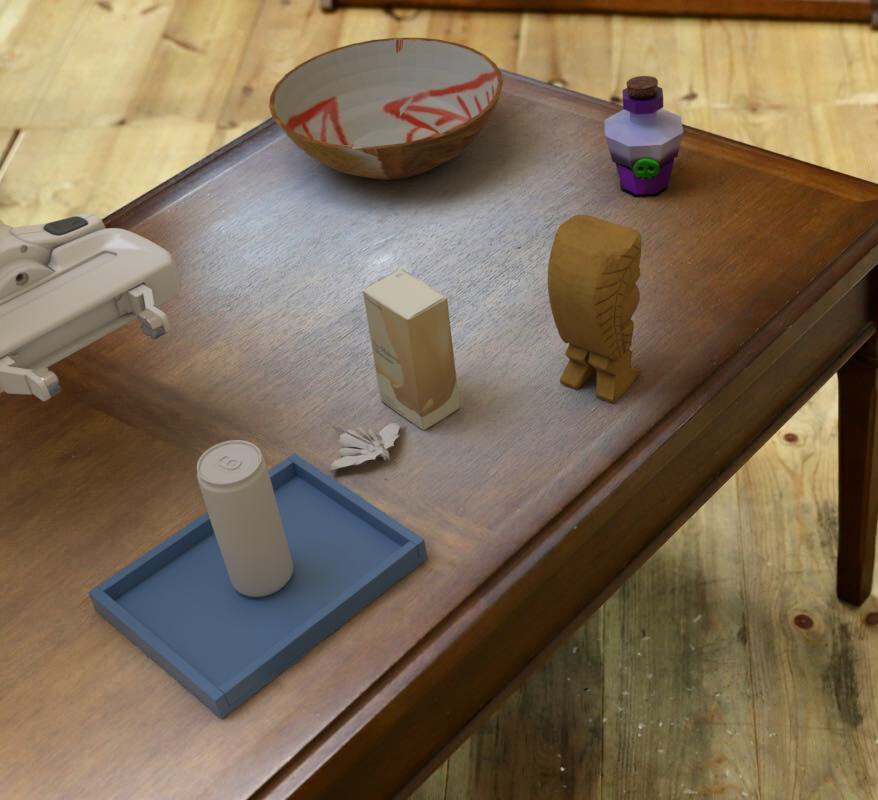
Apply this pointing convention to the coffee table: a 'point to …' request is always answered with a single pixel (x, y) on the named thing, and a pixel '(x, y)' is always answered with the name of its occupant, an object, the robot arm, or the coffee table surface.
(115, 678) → the coffee table surface
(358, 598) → the tray
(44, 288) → the robot arm
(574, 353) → the figurine
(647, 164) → the potion bottle
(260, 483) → the beverage can
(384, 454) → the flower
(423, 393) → the cosmetic box
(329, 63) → the bowl
